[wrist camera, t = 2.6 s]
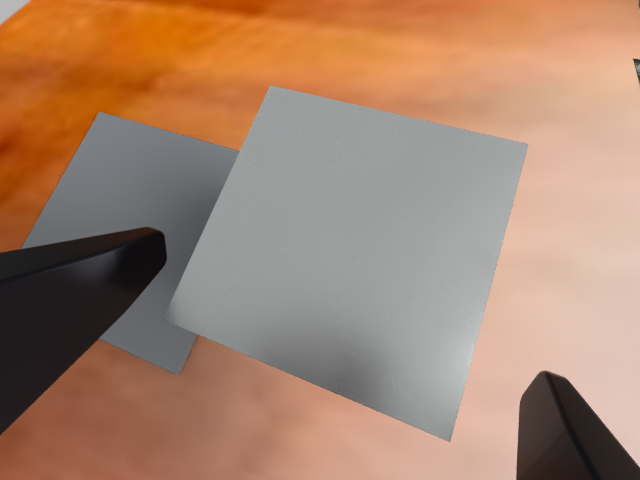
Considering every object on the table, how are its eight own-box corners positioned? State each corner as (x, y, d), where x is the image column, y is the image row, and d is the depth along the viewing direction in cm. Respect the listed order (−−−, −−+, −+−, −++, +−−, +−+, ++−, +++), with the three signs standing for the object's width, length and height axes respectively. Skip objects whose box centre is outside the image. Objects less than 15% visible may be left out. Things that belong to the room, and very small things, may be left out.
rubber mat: (180, 373, 18) (175, 374, 17) (5, 292, 20) (-4, 291, 20) (271, 163, 20) (269, 159, 20) (105, 116, 23) (99, 111, 22)
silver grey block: (403, 381, 16) (449, 442, 6) (277, 331, 17) (162, 319, 8) (442, 252, 17) (528, 144, 8) (322, 214, 19) (270, 84, 9)
